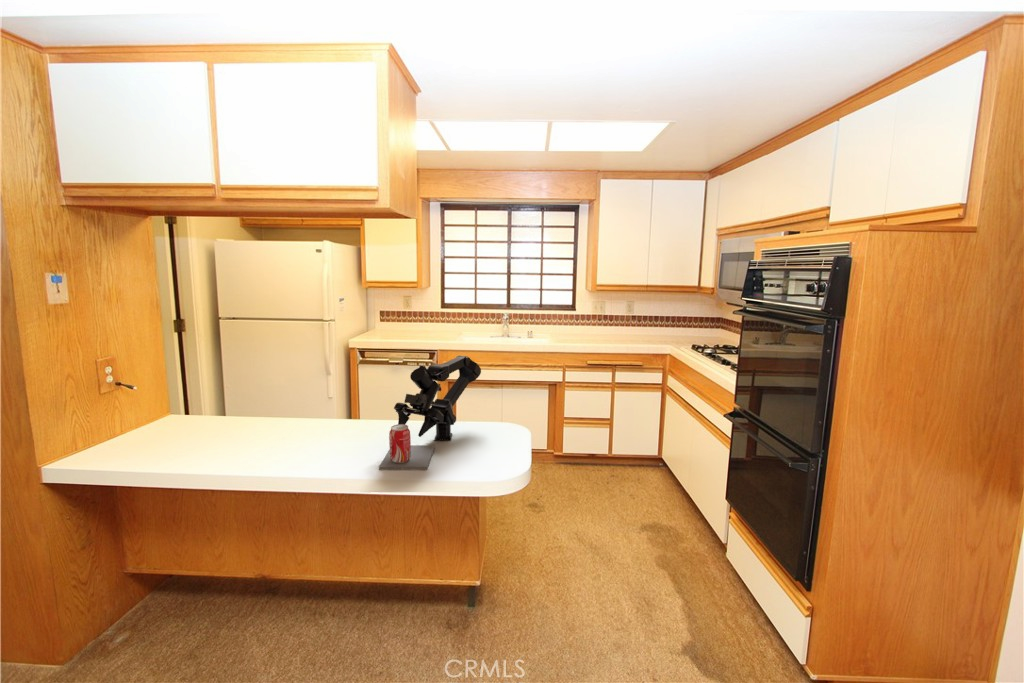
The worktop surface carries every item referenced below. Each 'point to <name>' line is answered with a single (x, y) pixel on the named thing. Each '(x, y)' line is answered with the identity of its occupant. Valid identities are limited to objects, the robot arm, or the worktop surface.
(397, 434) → the soda can
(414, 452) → the charcoal mat
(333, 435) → the worktop surface
